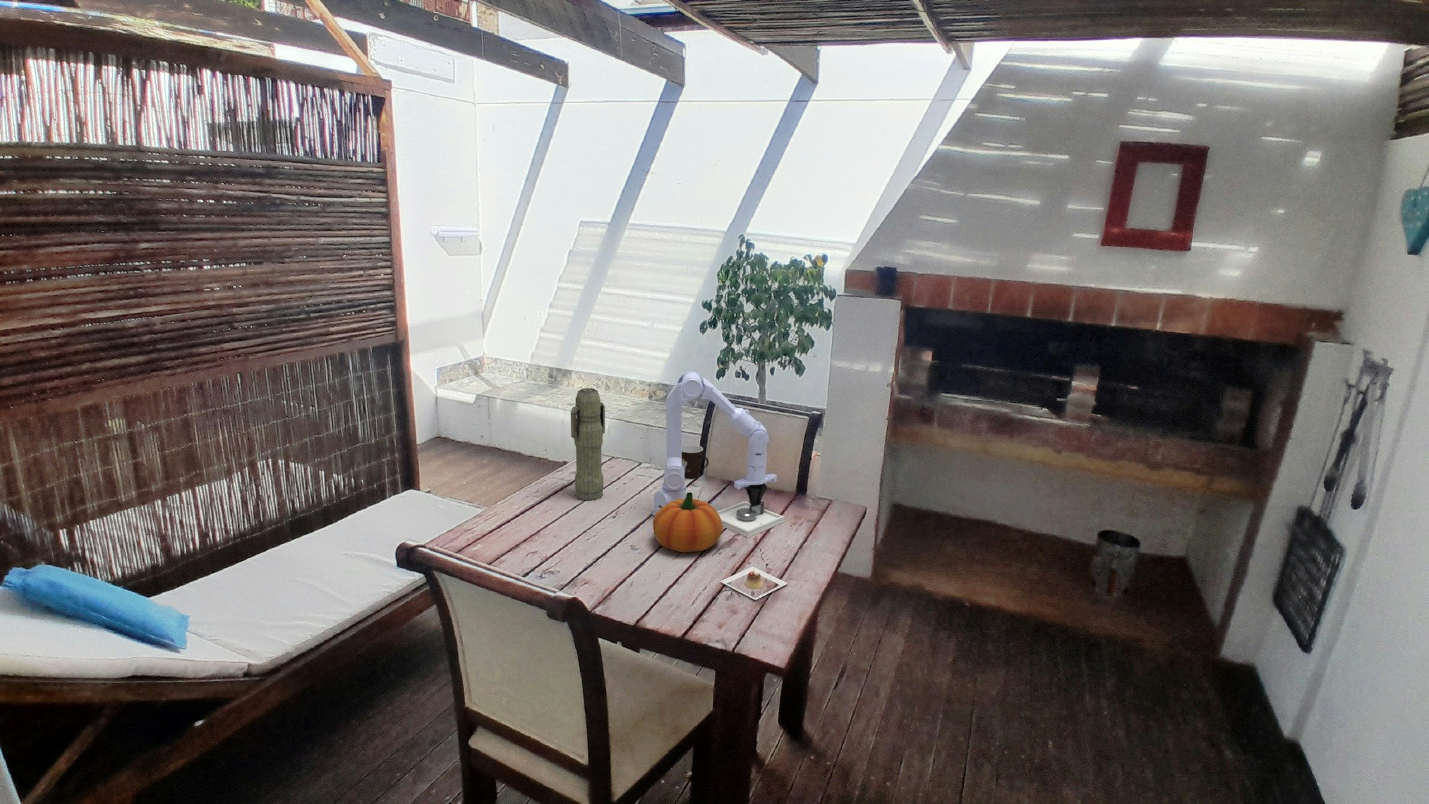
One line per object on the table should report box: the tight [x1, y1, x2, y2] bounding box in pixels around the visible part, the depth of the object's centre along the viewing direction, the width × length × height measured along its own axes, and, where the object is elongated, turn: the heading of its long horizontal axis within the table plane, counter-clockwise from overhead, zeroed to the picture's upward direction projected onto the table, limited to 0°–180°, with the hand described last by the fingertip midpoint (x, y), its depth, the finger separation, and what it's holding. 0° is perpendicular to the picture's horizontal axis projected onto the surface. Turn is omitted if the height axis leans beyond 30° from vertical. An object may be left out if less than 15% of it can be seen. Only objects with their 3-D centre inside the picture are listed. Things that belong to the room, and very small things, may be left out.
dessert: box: [720, 566, 789, 601], centre depth 177 cm, size 12×12×5 cm
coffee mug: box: [682, 444, 709, 480], centre depth 248 cm, size 12×9×10 cm
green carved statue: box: [570, 387, 606, 502], centre depth 226 cm, size 9×12×35 cm
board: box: [716, 501, 785, 538], centre depth 215 cm, size 16×16×2 cm
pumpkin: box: [652, 492, 724, 553], centre depth 198 cm, size 19×19×15 cm
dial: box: [736, 500, 765, 521], centre depth 215 cm, size 10×6×3 cm, turn 129°
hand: (754, 506), depth 219 cm, fingers closed, pressing on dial
